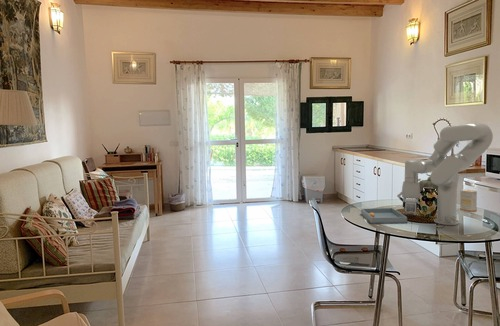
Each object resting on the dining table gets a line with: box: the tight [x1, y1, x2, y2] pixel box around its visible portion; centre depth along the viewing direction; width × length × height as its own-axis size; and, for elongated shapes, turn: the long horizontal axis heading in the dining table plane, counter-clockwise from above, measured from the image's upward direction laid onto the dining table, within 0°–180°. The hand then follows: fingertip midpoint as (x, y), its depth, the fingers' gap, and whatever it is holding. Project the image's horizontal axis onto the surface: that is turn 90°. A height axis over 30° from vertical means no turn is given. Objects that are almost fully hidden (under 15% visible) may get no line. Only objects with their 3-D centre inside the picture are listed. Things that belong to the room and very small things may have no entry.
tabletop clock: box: [418, 173, 438, 192], centre depth 242 cm, size 14×9×25 cm, turn 90°
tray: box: [360, 207, 408, 225], centre depth 216 cm, size 24×20×4 cm
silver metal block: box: [404, 198, 417, 214], centre depth 219 cm, size 12×6×6 cm, turn 157°
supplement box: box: [459, 188, 478, 213], centre depth 227 cm, size 8×5×13 cm, turn 22°
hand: (410, 208), depth 219 cm, fingers closed on silver metal block, 6 cm apart
